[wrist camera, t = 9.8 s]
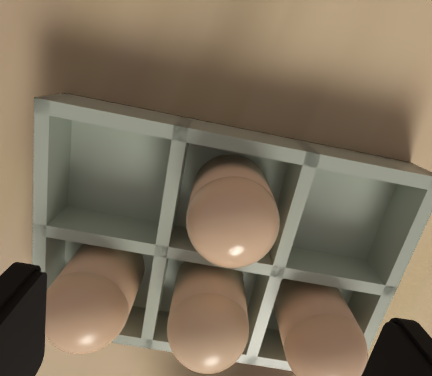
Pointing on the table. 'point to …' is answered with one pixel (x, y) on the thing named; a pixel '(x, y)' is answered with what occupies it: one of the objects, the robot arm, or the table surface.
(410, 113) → the table surface
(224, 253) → the egg
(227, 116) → the table surface
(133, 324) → the carton
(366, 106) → the table surface
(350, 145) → the table surface
